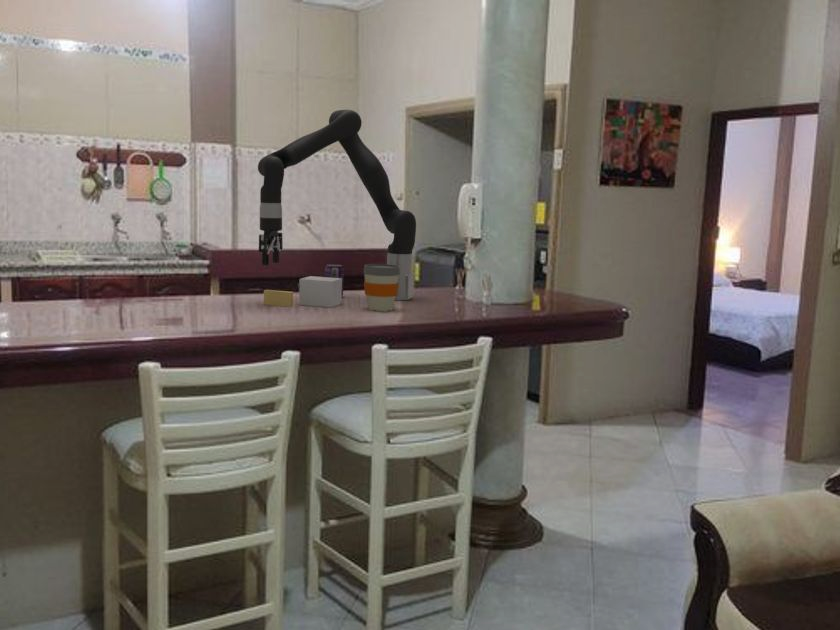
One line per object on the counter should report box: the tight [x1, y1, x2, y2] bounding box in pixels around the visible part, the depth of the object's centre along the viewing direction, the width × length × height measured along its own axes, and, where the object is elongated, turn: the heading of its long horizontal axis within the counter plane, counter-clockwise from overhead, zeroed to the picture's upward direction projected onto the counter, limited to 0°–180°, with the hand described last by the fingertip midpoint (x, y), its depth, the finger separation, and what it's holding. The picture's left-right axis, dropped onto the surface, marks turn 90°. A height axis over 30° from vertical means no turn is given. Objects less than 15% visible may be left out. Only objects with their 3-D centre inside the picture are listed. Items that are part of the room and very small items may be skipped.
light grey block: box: [297, 275, 343, 308], centre depth 277 cm, size 13×10×9 cm
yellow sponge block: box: [263, 289, 294, 307], centre depth 271 cm, size 10×2×5 cm, turn 76°
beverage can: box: [324, 263, 345, 297], centre depth 296 cm, size 7×7×12 cm
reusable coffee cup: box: [362, 263, 400, 312], centre depth 272 cm, size 13×13×15 cm
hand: (270, 263), depth 270 cm, fingers open, 8 cm apart
